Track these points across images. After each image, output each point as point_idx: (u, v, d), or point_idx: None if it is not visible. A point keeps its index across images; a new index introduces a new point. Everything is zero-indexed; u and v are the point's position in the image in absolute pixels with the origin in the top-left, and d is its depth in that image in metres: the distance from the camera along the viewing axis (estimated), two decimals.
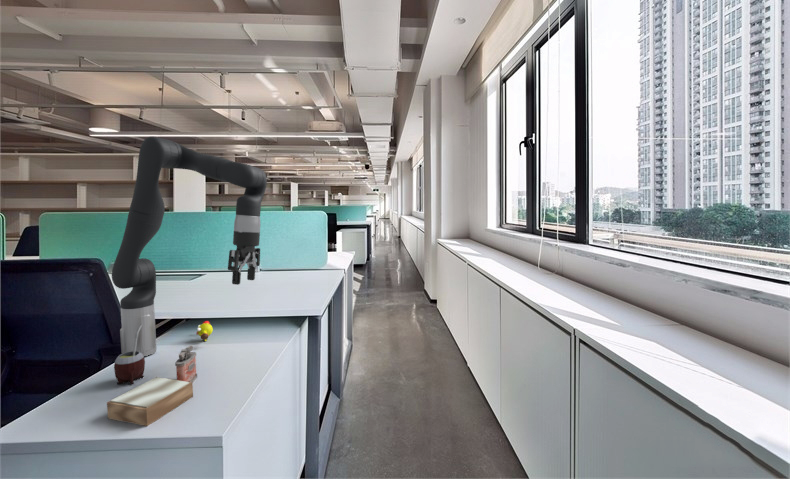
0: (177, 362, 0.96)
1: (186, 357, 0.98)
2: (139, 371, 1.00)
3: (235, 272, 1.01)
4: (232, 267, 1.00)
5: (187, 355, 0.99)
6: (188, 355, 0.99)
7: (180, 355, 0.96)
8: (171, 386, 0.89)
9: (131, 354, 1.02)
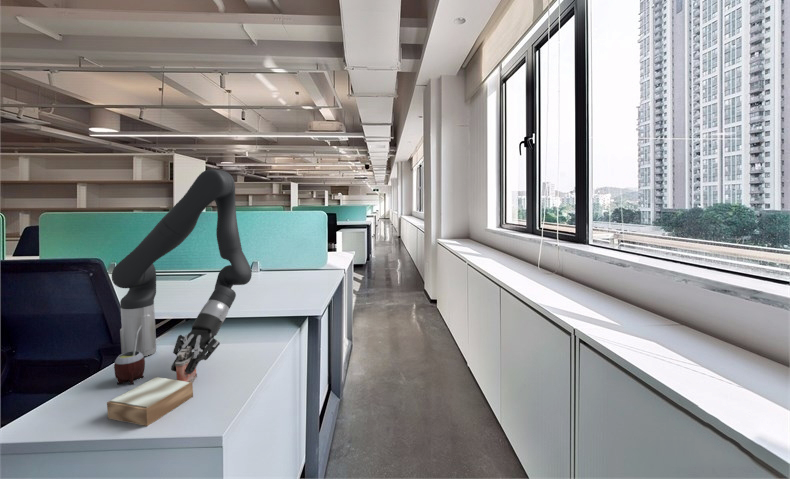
0: (177, 362, 0.96)
1: (185, 357, 0.98)
2: (139, 371, 1.00)
3: (197, 361, 0.99)
4: (205, 356, 1.00)
5: (187, 355, 0.99)
6: (188, 355, 0.99)
7: (180, 355, 0.96)
8: (171, 386, 0.89)
9: (131, 354, 1.02)
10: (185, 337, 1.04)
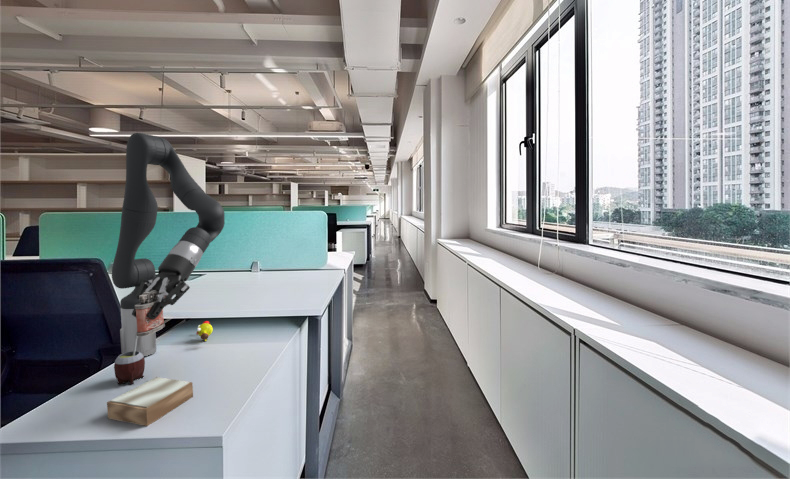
0: (137, 305, 0.82)
1: (148, 300, 0.84)
2: (139, 371, 1.00)
3: (162, 306, 0.85)
4: (171, 300, 0.86)
5: (150, 298, 0.85)
6: (152, 299, 0.85)
7: (140, 297, 0.83)
8: (171, 386, 0.89)
9: (131, 354, 1.02)
10: (150, 281, 0.91)
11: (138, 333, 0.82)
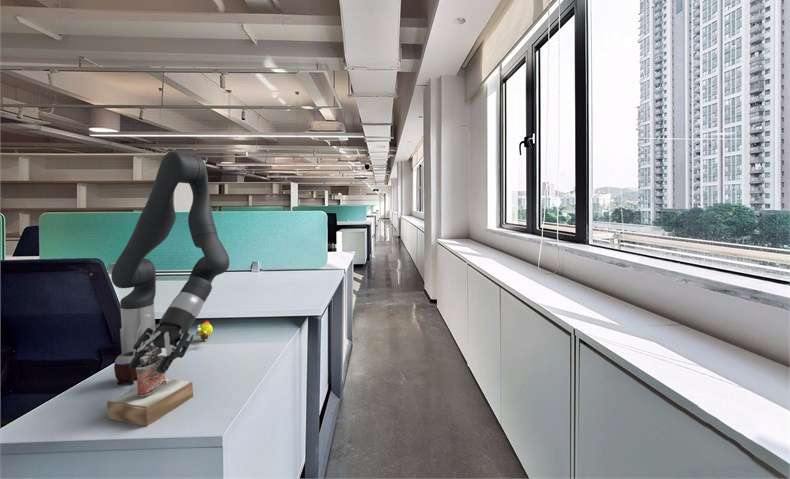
0: (138, 367, 0.83)
1: (149, 362, 0.85)
2: None
3: (173, 358, 0.86)
4: (181, 352, 0.87)
5: (152, 359, 0.86)
6: (153, 359, 0.86)
7: (142, 359, 0.83)
8: (171, 386, 0.89)
9: (131, 354, 1.02)
10: (153, 332, 0.92)
11: (138, 395, 0.83)
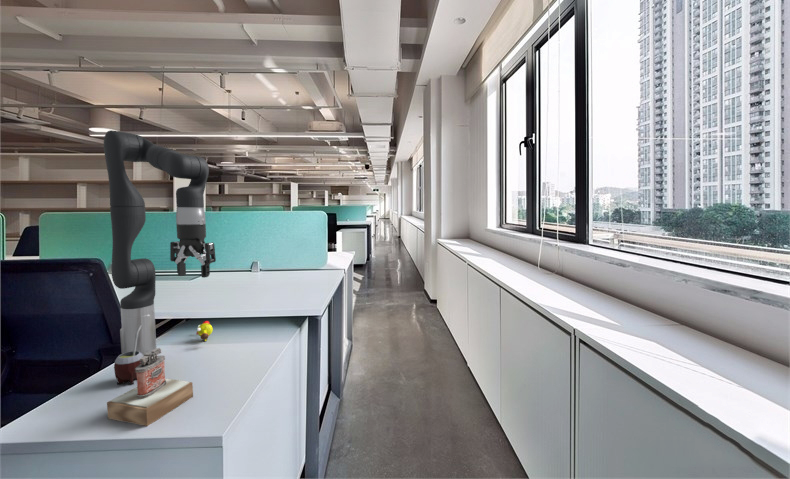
0: (138, 367, 0.83)
1: (149, 362, 0.85)
2: None
3: (208, 264, 1.02)
4: (212, 259, 1.02)
5: (151, 359, 0.86)
6: (153, 359, 0.86)
7: (141, 359, 0.83)
8: (171, 386, 0.89)
9: (131, 354, 1.02)
10: (177, 244, 1.04)
11: (138, 396, 0.83)
